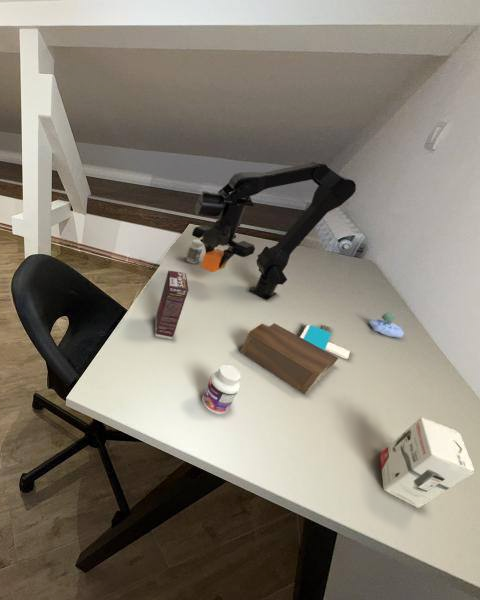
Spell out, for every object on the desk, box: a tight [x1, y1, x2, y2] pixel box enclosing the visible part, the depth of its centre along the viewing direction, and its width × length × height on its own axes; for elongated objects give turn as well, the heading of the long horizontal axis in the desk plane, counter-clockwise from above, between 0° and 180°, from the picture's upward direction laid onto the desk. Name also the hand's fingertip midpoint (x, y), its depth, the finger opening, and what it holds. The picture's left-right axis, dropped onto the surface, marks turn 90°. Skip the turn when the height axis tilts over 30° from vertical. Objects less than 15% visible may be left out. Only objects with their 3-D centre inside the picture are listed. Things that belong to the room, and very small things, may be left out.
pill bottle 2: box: [201, 364, 242, 415], centre depth 63 cm, size 5×5×10 cm
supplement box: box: [154, 270, 189, 340], centre depth 81 cm, size 9×5×16 cm, turn 168°
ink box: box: [379, 416, 475, 509], centre depth 52 cm, size 9×5×12 cm, turn 145°
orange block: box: [200, 248, 227, 273], centre depth 101 cm, size 7×4×5 cm, turn 126°
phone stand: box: [296, 324, 351, 360], centre depth 84 cm, size 20×12×2 cm, turn 136°
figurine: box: [369, 312, 405, 339], centre depth 91 cm, size 8×7×7 cm
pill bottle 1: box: [185, 238, 204, 264], centre depth 121 cm, size 5×5×8 cm
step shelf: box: [239, 323, 339, 395], centre depth 77 cm, size 16×16×7 cm
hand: (213, 264), depth 102 cm, fingers closed on orange block, 4 cm apart
